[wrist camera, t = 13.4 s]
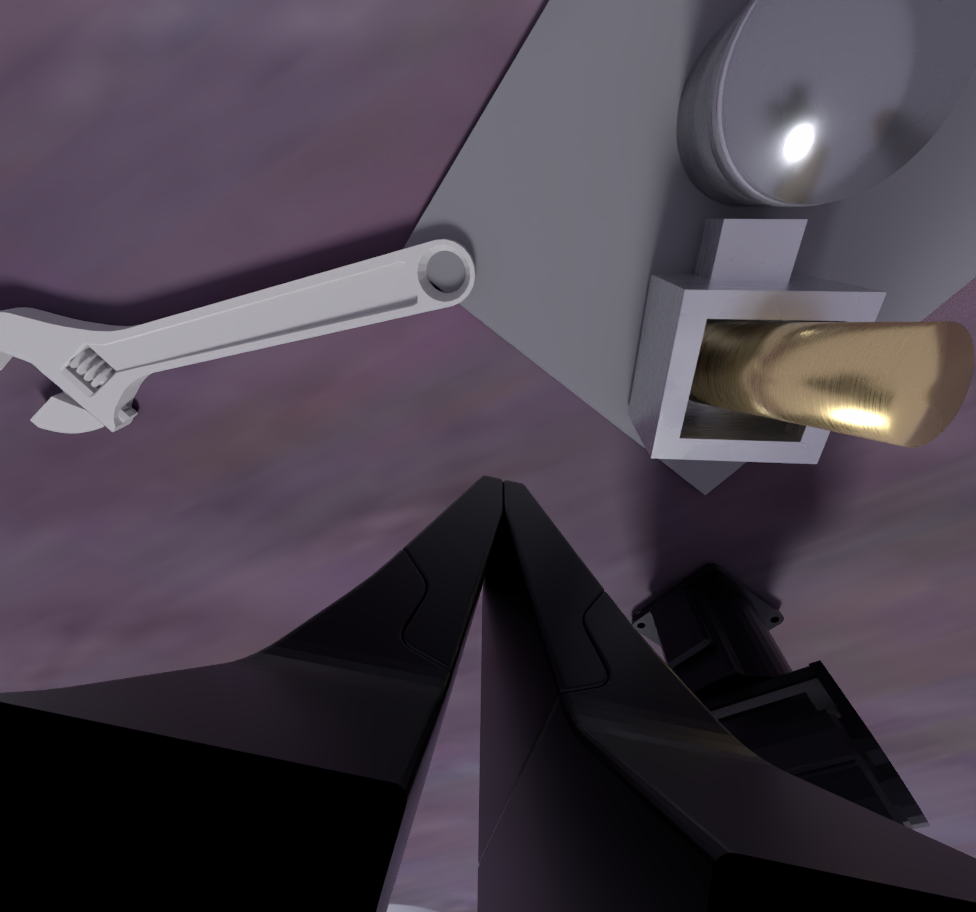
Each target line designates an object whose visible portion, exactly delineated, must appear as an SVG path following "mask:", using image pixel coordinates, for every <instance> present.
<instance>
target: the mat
mask: <svg viewBox="0 0 976 912" xmlns="http://www.w3.org/2000/svg"><path fill="white" fill-rule="evenodd" d="M749 1H750V0H549V2H548V4H547V5H546V7H545V9H544V10H543V12H542V14H541V15H540V17H539V19H538V21H537V22H536V24H535V26H534V27H533V29H532V31H531V32H530V34H529V36H528V37H527V39H526V41H525V43H524V44H523V46H522V48H521V49H520V51H519V53H518V54H517V56H516V58H515V60H514V61H513V63H512V65H511V66H510V68H509V70H508V71H507V73H506V75H505V76H504V78H503V80H502V82H501V83H500V85H499V87H498V88H497V90H496V92H495V93H494V95H493V97H492V98H491V100H490V102H489V104H488V105H487V107H486V109H485V110H484V112H483V114H482V115H481V117H480V119H479V121H478V122H477V124H476V126H475V127H474V129H473V131H472V132H471V134H470V136H469V137H468V139H467V141H466V143H465V144H464V146H463V148H462V149H461V151H460V153H459V154H458V156H457V158H456V160H455V161H454V163H453V165H452V166H451V168H450V170H449V171H448V173H447V175H446V176H445V178H444V180H443V182H442V183H441V185H440V187H439V188H438V190H437V192H436V193H435V195H434V197H433V199H432V200H431V202H430V204H429V205H428V207H427V209H426V210H425V212H424V214H423V215H422V217H421V219H420V221H419V222H418V224H417V226H416V227H415V229H414V231H413V232H412V234H411V236H410V237H409V239H408V241H407V243H406V244H405V246H404V248H403V249H406V248H409V247H413V246H416V245H420V244H423V243H426V242H430V241H433V240H437V239H450V240H454V241H457V242H458V243H460V244H462V245H463V246H465V247H466V249H467V250H468V251H469V252H470V254H471V255H472V258H473V260H474V263H475V266H476V279H475V284H474V286H473V288H472V290H471V292H470V293H469V295H468V296H467V297H466V298H465V299H464V300H463V301H462V302H460V303H459V304H460V305H461V306H463V307H464V308H465V309H467V310H468V311H469V312H470V313H472V314H473V315H474V316H475V317H477V318H478V319H479V320H481V321H482V322H483V323H484V324H486V325H487V326H488V327H490V328H491V329H492V330H493V331H495V332H496V333H497V334H499V335H500V336H501V337H502V338H504V339H505V340H506V341H508V342H509V343H510V344H511V345H513V346H514V347H515V348H517V349H518V350H519V351H520V352H522V353H523V354H524V355H526V356H527V357H528V358H529V359H531V360H532V361H533V362H535V363H536V364H537V365H538V366H540V367H541V368H542V369H544V370H545V371H546V372H547V373H549V374H550V375H551V376H553V377H554V378H555V379H556V380H558V381H559V382H560V383H562V384H563V385H564V386H565V387H567V388H568V389H569V390H571V391H572V392H573V393H574V394H576V395H577V396H578V397H580V398H581V399H582V400H583V401H585V402H586V403H587V404H588V405H590V406H591V407H592V408H594V409H595V410H596V411H597V412H599V413H600V414H601V415H603V416H604V417H605V418H606V419H608V420H609V421H610V422H612V423H613V424H614V425H615V426H617V427H618V428H619V429H621V430H622V431H623V432H624V433H626V434H627V435H628V436H630V437H631V438H632V439H633V440H635V441H636V442H637V443H639V444H640V445H641V446H642V447H644V448H645V446H644V444H643V442H642V441H641V439H640V437H639V435H638V433H637V431H636V429H635V427H634V425H633V424H632V422H631V420H630V418H629V416H628V411H629V405H630V399H631V393H632V387H633V381H634V375H635V369H636V363H637V357H638V351H639V345H640V339H641V333H642V326H643V320H644V314H645V308H646V302H647V296H648V290H649V284H650V278H651V274H683V275H694V272H695V267H696V262H697V257H698V253H699V248H700V243H701V238H702V233H703V228H704V224H705V219H808V220H807V224H806V227H805V230H804V234H803V237H802V240H801V243H800V247H799V250H798V253H797V257H796V260H795V263H794V266H793V270H792V273H791V276H813V277H817V278H822V279H827V280H831V281H836V282H841V283H846V284H850V285H855V286H860V287H864V288H869V289H874V290H879V291H883V292H887V293H886V296H885V298H884V301H883V303H882V306H881V308H880V310H879V313H878V315H877V318H876V320H875V322H920V321H922V320H923V319H924V318H925V317H927V316H928V315H929V314H930V313H932V312H933V311H934V310H935V309H937V308H938V307H939V306H940V305H941V304H943V303H944V302H945V301H946V300H948V299H949V298H950V297H951V296H953V295H954V294H955V293H956V292H958V291H959V290H960V289H961V288H962V287H964V286H965V285H966V284H967V283H969V282H970V281H971V280H972V279H974V278H975V277H976V63H975V66H974V69H973V71H972V74H971V76H970V78H969V80H968V83H967V85H966V87H965V89H964V91H963V93H962V94H961V96H960V98H959V100H958V102H957V103H956V105H955V107H954V108H953V110H952V111H951V113H950V114H949V116H948V117H947V119H946V120H945V122H944V123H943V125H942V126H941V127H940V128H939V130H938V131H937V132H936V133H935V135H934V136H933V137H932V138H931V140H930V141H929V142H928V143H927V144H926V145H925V146H924V147H923V148H922V149H921V150H920V151H919V152H918V153H917V154H916V155H915V156H914V157H913V158H912V159H911V160H910V161H908V162H907V163H906V164H905V165H904V166H903V167H902V168H900V169H899V170H898V171H896V172H895V173H894V174H892V175H891V176H889V177H888V178H887V179H885V180H883V181H882V182H880V183H878V184H877V185H875V186H873V187H872V188H870V189H868V190H865V191H863V192H861V193H859V194H857V195H854V196H851V197H848V198H846V199H843V200H839V201H834V202H830V203H825V204H821V205H815V206H803V207H775V206H754V207H736V206H729V205H724V204H721V203H718V202H716V201H713V200H712V199H710V198H708V197H707V196H705V195H704V194H703V193H701V192H700V191H699V190H698V189H697V188H696V187H695V186H694V184H693V183H692V182H691V181H690V179H689V177H688V176H687V174H686V172H685V170H684V168H683V165H682V163H681V160H680V156H679V152H678V146H677V139H676V124H677V114H678V108H679V103H680V98H681V95H682V92H683V89H684V86H685V83H686V80H687V78H688V76H689V73H690V71H691V69H692V67H693V65H694V64H695V62H696V60H697V58H698V56H699V55H700V53H701V52H702V50H703V49H704V47H705V46H706V44H707V43H708V42H709V41H710V40H711V38H712V37H713V36H714V35H715V34H716V32H717V31H718V30H719V29H720V28H721V27H722V26H723V25H724V24H726V23H727V22H728V21H729V20H730V19H731V18H732V17H733V16H734V15H735V14H736V13H737V12H738V11H739V10H740V9H741V8H742V7H743V6H744V5H746V4H747V3H748V2H749ZM426 272H427V278H428V280H429V281H431V282H432V283H433V284H434V285H436V286H437V287H438V288H440V289H441V290H442V291H443V292H445V293H452V292H454V291H457V290H458V289H459V288H460V287H461V286H462V284H463V283H464V281H465V276H466V271H465V266H464V263H463V261H462V260H461V258H460V257H459V256H458V255H456V254H455V253H453V252H450V251H439V252H437V253H435V254H434V255H433V256H432V257H431V258H430V260H429V262H428V264H427V269H426ZM645 449H646V448H645ZM659 460H660V461H662V462H663V463H664V464H666V465H667V466H668V467H669V468H671V469H672V470H673V471H675V472H676V473H677V474H678V475H680V476H681V477H682V478H684V479H685V480H686V481H687V482H689V483H690V484H691V485H693V486H694V487H695V488H696V489H698V490H699V491H700V492H701V493H703V494H704V495H707V494H708V493H709V492H710V491H712V490H713V489H714V488H715V487H717V486H718V485H719V484H720V483H721V482H723V481H724V480H725V479H726V478H728V477H729V476H730V475H731V474H733V473H734V472H735V471H736V470H738V469H739V468H740V467H741V466H742V465H744V464H745V463H746V462H741V461H712V460H683V459H659Z"/></svg>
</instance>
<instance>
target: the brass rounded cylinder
mask: <svg viewBox="0 0 976 912" xmlns="http://www.w3.org/2000/svg"><path fill="white" fill-rule="evenodd" d="M973 368H974V346H973V342H972V339H971V336H970V334H969V332H968V331H967V329H966V328H965V327H964V326H962V325H961V324H959V323H956V322H736V323H706V325H705V330H704V334H703V338H702V343H701V347H700V351H699V356H698V360H697V364H696V369H695V373H694V377H693V382H692V386H691V390H690V395H689V399H688V400H690V401H692V402H696V403H701V404H706V405H711V406H715V407H720V408H725V409H729V410H734V411H739V412H744V413H748V414H753V415H758V416H762V417H767V418H772V419H776V420H781V421H786V422H791V423H795V424H800V425H805V426H809V427H814V428H819V429H824V430H828V431H833V432H838V433H842V434H847V435H852V436H857V437H861V438H866V439H871V440H875V441H880V442H885V443H889V444H894V445H899V446H904V447H910V448H912V447H919V446H922V445H924V444H926V443H928V442H930V441H932V440H933V439H934V438H936V437H937V436H938V435H939V434H940V433H941V432H942V431H943V430H944V429H945V428H946V427H947V426H948V425H949V423H950V422H951V421H952V419H953V418H954V417H955V415H956V414H957V412H958V410H959V408H960V407H961V405H962V403H963V401H964V399H965V396H966V394H967V391H968V388H969V385H970V382H971V378H972V374H973Z"/></svg>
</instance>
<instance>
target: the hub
mask: <svg viewBox="0 0 976 912" xmlns="http://www.w3.org/2000/svg"><path fill="white" fill-rule="evenodd" d="M975 63H976V0H750V1H749V2H748V3H747V4H746V5H744V6H743V7H742V8H741V9H740V10H739V11H738V12H737V13H736V14H735V15H734V16H733V17H732V18H731V19H730V20H729V21H728V22H727V23H726V24H724V25H723V26H722V27H721V28H720V29H719V30H718V31H717V32H716V34H715V35H714V36H713V37H712V38H711V40H710V41H709V42H708V43H707V44H706V46H705V47H704V49H703V50H702V52H701V53H700V55H699V56H698V58H697V60H696V62H695V64H694V65H693V67H692V69H691V71H690V73H689V76H688V78H687V80H686V83H685V86H684V89H683V92H682V95H681V98H680V103H679V108H678V114H677V124H676V139H677V146H678V152H679V156H680V160H681V163H682V165H683V168H684V170H685V172H686V174H687V176H688V177H689V179H690V181H691V182H692V183H693V184H694V186H695V187H696V188H697V189H698V190H699V191H700V192H701V193H703V194H704V195H705V196H707V197H708V198H710V199H712V200H713V201H716V202H718V203H721V204H724V205H729V206H736V207H754V206H775V207H803V206H815V205H821V204H825V203H830V202H834V201H839V200H843V199H846V198H848V197H851V196H854V195H857V194H859V193H861V192H863V191H865V190H868V189H870V188H872V187H873V186H875V185H877V184H878V183H880V182H882V181H883V180H885V179H887V178H888V177H889V176H891V175H892V174H894V173H895V172H896V171H898V170H899V169H900V168H902V167H903V166H904V165H905V164H906V163H907V162H908V161H910V160H911V159H912V158H913V157H914V156H915V155H916V154H917V153H918V152H919V151H920V150H921V149H922V148H923V147H924V146H925V145H926V144H927V143H928V142H929V141H930V140H931V138H932V137H933V136H934V135H935V133H936V132H937V131H938V130H939V128H940V127H941V126H942V125H943V123H944V122H945V120H946V119H947V117H948V116H949V114H950V113H951V111H952V110H953V108H954V107H955V105H956V103H957V102H958V100H959V98H960V96H961V94H962V93H963V91H964V89H965V87H966V85H967V83H968V80H969V78H970V76H971V74H972V71H973V69H974V66H975Z"/></svg>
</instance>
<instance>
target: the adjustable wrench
mask: <svg viewBox="0 0 976 912" xmlns="http://www.w3.org/2000/svg"><path fill="white" fill-rule="evenodd" d="M439 251H450V252H453V253H455V254H456V255H458V256H459V257H460V258H461V260H462V261H463V263H464V266H465V271H466V276H465V281H464V283H463V284H462V286H461V287H460V288H459V289H458V290H457V291H454V292H452V293H445V292H441V291H439V290H437V289H436V288H434V287H433V285H432V284H431V283H430V281H429V280H428V278H427V272H426V269H427V264H428V262H429V260H430V258H431V257H432V256H433V255H434V254H435V253H437V252H439ZM475 279H476V266H475V263H474V260H473V258H472V255H471V254H470V252H469V251H468V250H467V249H466V247H465V246H463V245H462V244H460V243H458V242H457V241H454V240H450V239H437V240H433V241H430V242H426V243H423V244H420V245H416V246H413V247H409V248H406V249H402V250H399V251H395V252H392V253H388V254H385V255H381V256H378V257H374V258H371V259H367V260H364V261H360V262H357V263H353V264H350V265H346V266H343V267H340V268H336V269H333V270H329V271H326V272H322V273H319V274H315V275H312V276H308V277H305V278H301V279H298V280H294V281H291V282H287V283H284V284H280V285H277V286H273V287H270V288H266V289H263V290H260V291H256V292H253V293H249V294H246V295H242V296H239V297H235V298H232V299H228V300H225V301H221V302H218V303H214V304H211V305H207V306H204V307H200V308H197V309H193V310H190V311H187V312H183V313H180V314H176V315H173V316H169V317H166V318H162V319H159V320H155V321H152V322H148V323H145V324H140V325H134V326H113V325H106V324H100V323H93V322H87V321H82V320H77V319H72V318H68V317H65V316H61V315H57V314H53V313H50V312H46V311H42V310H38V309H34V308H27V307H20V308H12V309H7V310H1V311H0V370H2V369H3V368H4V366H5V365H6V364H7V363H8V361H9V360H10V359H11V358H12V357H13V356H14V357H17V358H19V359H22V360H25V361H27V362H30V363H32V364H33V365H34V366H35V367H37V368H38V369H39V370H40V371H41V372H42V373H43V374H44V375H46V376H47V377H48V378H49V379H50V380H52V381H53V382H54V383H55V384H56V385H57V386H59V387H60V388H61V389H62V390H63V392H62V393H59V394H57V395H54V396H52V397H51V398H50V399H49V400H48V401H47V402H46V403H45V404H44V405H43V406H42V408H41V409H40V410H39V411H38V412H37V413H36V414H35V415H34V416H33V417H32V418H31V420H30V421H32V422H33V423H34V424H35V425H36V426H38V427H39V428H43V429H46V430H50V431H55V432H61V433H83V432H88V431H92V430H96V429H99V428H102V427H104V426H106V427H107V428H108V429H109V430H111V431H112V432H115V431H117V430H119V429H120V428H122V427H124V426H126V425H128V424H130V423H131V421H132V420H133V417H135V416H136V415H137V414H138V412H137V411H136V410H135V409H134V408H132V402H133V399H134V397H135V395H136V393H137V391H138V389H139V387H140V385H141V383H142V382H143V381H144V379H145V378H146V377H147V376H148V375H150V374H152V373H154V372H158V371H163V370H167V369H172V368H176V367H181V366H185V365H190V364H194V363H199V362H203V361H208V360H212V359H217V358H221V357H226V356H230V355H235V354H239V353H244V352H248V351H253V350H257V349H261V348H266V347H270V346H275V345H279V344H284V343H288V342H293V341H297V340H302V339H306V338H311V337H315V336H320V335H324V334H329V333H333V332H338V331H342V330H347V329H351V328H356V327H360V326H365V325H369V324H374V323H378V322H382V321H387V320H391V319H396V318H400V317H405V316H409V315H414V314H418V313H423V312H427V311H432V310H436V309H441V308H445V307H450V306H453V305H456V304H458V303H460V302H462V301H463V300H464V299H465V298H466V297H467V296H468V295H469V293H470V292H471V290H472V288H473V286H474V284H475Z"/></svg>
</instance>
